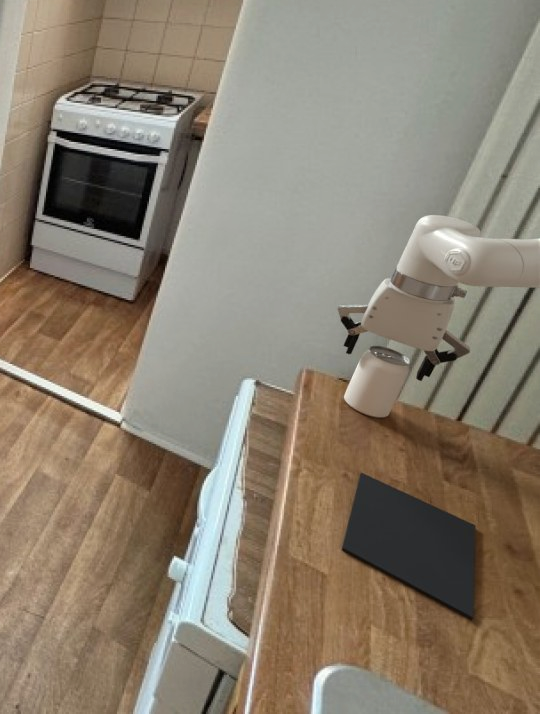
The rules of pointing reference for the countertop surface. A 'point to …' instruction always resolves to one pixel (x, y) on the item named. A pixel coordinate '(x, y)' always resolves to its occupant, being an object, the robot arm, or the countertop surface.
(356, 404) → the can
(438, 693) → the countertop surface
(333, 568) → the countertop surface
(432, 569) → the mat
